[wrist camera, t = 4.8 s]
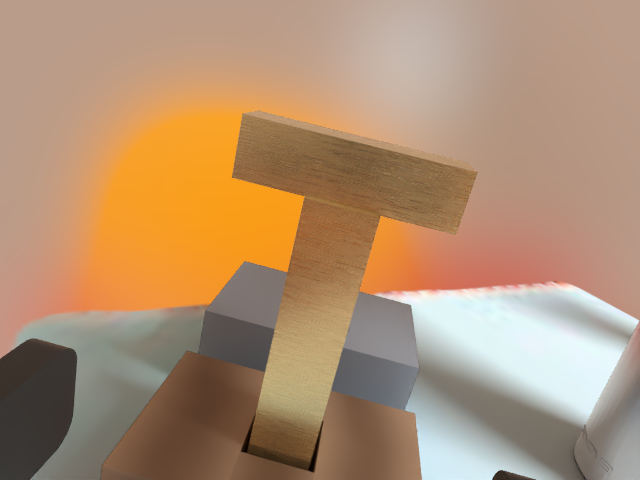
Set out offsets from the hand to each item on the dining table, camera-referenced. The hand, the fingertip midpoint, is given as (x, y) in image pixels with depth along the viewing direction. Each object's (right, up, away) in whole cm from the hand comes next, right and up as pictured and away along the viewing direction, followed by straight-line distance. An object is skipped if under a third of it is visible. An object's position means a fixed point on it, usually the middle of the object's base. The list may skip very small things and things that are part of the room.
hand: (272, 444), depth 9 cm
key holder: (0, -7, +27) cm, 28 cm away
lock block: (-2, -10, +16) cm, 19 cm away
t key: (-2, -9, +16) cm, 18 cm away
